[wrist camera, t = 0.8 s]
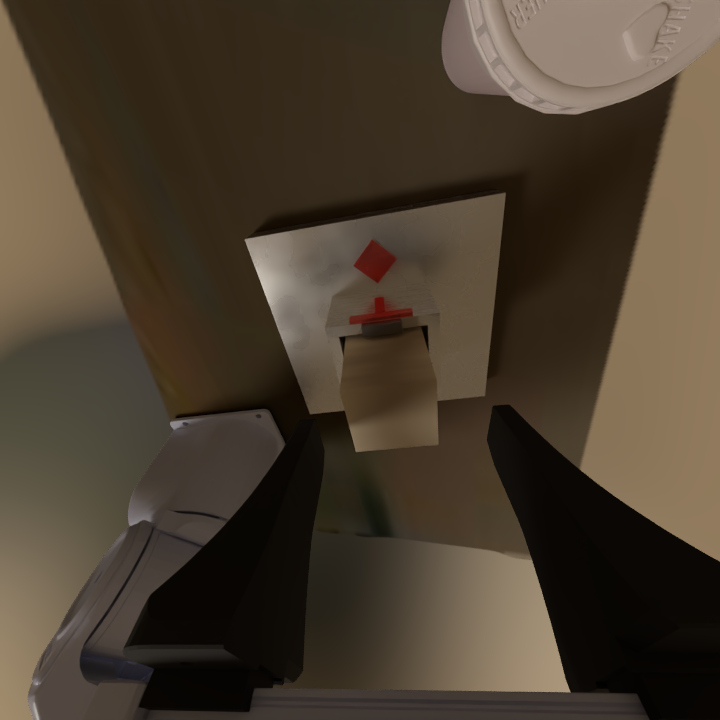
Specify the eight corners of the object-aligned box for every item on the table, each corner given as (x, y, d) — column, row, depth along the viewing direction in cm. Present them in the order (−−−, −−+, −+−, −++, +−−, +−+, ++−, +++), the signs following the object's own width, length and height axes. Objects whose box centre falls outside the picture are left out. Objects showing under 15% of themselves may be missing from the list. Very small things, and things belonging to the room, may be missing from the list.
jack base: (312, 401, 26) (300, 459, 21) (253, 232, 18) (210, 264, 13) (478, 383, 24) (506, 441, 19) (495, 188, 16) (549, 206, 11)
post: (358, 360, 21) (354, 453, 15) (347, 306, 19) (336, 390, 12) (418, 352, 21) (440, 445, 14) (414, 297, 18) (439, 379, 12)
